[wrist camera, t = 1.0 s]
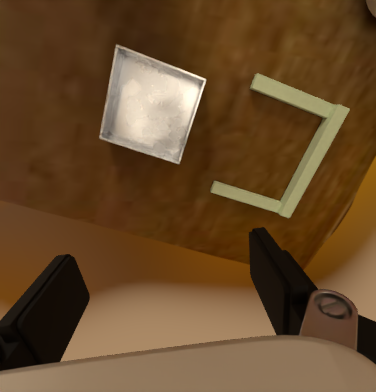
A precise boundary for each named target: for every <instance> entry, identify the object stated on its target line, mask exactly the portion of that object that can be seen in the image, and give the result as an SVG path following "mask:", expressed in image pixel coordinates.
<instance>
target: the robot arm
mask: <svg viewBox="0 0 376 392" xmlns="http://www.w3.org/2000/svg"><path fill="white" fill-rule="evenodd" d="M249 248H250V274H251V278H252V281H253V283H254V285H255V288H256V290H257V292H258V294H259V296H260V299H261V301H262V303H263V305H264V307H265V310H266V312H267V315H268V317H269V319H270V321H271V324H272V326H273V328H274V330H275V333H276V335H275V336H260V337H250V338H241V339H232V340H223V341H216V342H207V343H199V344H192V345H183V346H175V347H168V348H160V349H153V350H145V351H137V352H130V353H122V354H115V355H107V356H100V357H92V358H85V359H78V360H71V361H63V362H60V360H61V358H62V356H63V354H64V352H65V350H66V348H67V346H68V344H69V342H70V340H71V338H72V335H73V333H74V331H75V329H76V327H77V325H78V323H79V321H80V319H81V317H82V315H83V312H84V311H85V309H86V306H87V304H88V302H89V298H90V297H89V292H88V290H87V288H86V285H85V282H84V280H83V277H82V275H81V272H80V270H79V268H78V265H77V263H76V260H75V258H74V257H73V256H71V255H70V254H66V255H58V256H56V257H55V258H54V259H53V260H52V262H51V263H50V264H49V265H48V266H47V267H46V269H45V270H44V271H43V272H42V273H41V274H40V275H39V277H38V278H37V279H36V280H35V281H34V282H33V284H32V285H31V286H30V287H29V288H28V289H27V291H26V292H25V293H24V294H23V295H22V296H21V298H20V299H19V300H18V301H17V302H16V303H15V304H14V305H13V307H12V308H11V309H10V310H9V311H8V312H7V314H6V315H5V316H4V317H3V318H2V319H1V320H0V392H376V322H375V321H372V320H370V319H368V318H365V317H363V316H361V315H358V311H357V308H356V307H355V305H354V304H353V302H352V301H350V300H349V299H348V298H347V297H345V296H344V295H342V294H340V293H338V292H335V291H332V290H327V289H320V290H318V288H317V287H316V286H315V285H314V284H313V282H312V281H311V280H310V278H309V277H308V276H307V275H306V273H305V272H304V271H303V270H302V268H301V267H300V266H299V265H298V263H297V262H296V261H295V260H294V258H293V257H292V256H291V255H290V253H289V252H288V251H286V250H283V251H282V250H281V249H280V247H279V246H278V245H277V243H276V242H275V241H274V239H273V238H272V237H271V235H270V234H269V233H268V232H267V230H266V229H265V228H264V227H262V228H254V229H253V230H252V232H249Z"/></svg>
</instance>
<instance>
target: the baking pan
mask: <svg viewBox="0 0 376 392" xmlns="http://www.w3.org/2000/svg"><path fill="white" fill-rule="evenodd" d="M206 80H207V79H205V78H202V77H200V76H197V75H195V74H192V73H190V72H187V71H184V70H182V69H179V68H177V67H174V66H172V65H169V64H166V63H164V62H161V61H159V60H156V59H154V58H151V57H149V56H146V55H143V54H141V53H138V52H136V51H133V50H131V49H128V48H126V47H123V46H120V45H118V44H116V47H115V53H114V58H113V64H112V69H111V75H110V81H109V86H108V92H107V97H106V103H105V108H104V114H103V119H102V125H101V130H100V136H99V139H101V140H104V141H108V142H111V143H114V144H117V145H120V146H123V147H126V148H129V149H133V150H136V151H139V152H142V153H145V154H148V155H151V156H154V157H158V158H161V159H164V160H167V161H170V162H173V163H176V164H180V160H181V157H182V154H183V151H184V148H185V145H186V142H187V139H188V136H189V132H190V129H191V126H192V123H193V120H194V117H195V114H196V111H197V108H198V104H199V101H200V98H201V95H202V92H203V89H204V86H205V83H206Z"/></svg>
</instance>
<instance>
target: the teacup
mask: <svg viewBox="0 0 376 392" xmlns="http://www.w3.org/2000/svg"><path fill="white" fill-rule="evenodd" d="M366 3H367V6H368V9H369V10H370V12H371V13H372V15H373V16H375V17H376V0H366Z"/></svg>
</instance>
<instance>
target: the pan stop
mask: <svg viewBox="0 0 376 392" xmlns="http://www.w3.org/2000/svg"><path fill="white" fill-rule="evenodd" d="M250 89H251V90H254V91H256V92H259V93H261V94H264V95H267V96H269V97H272V98H274V99H277V100H279V101H282V102H284V103H287V104H289V105H292V106H294V107H297V108H299V109H302V110H304V111H307V112H309V113H312V114H315V115H317V116H320V117H322V118H323V120H322V122H321V124H320V125H319V127H318V129H317V131H316V133H315V135H314V137H313V139H312V141H311V143H310V145H309V147H308V149H307V150H306V152H305V154H304V156H303V158H302V160H301V162H300V164H299V166H298V168H297V170H296V172H295V174H294V175H293V177H292V179H291V181H290V183H289V185H288V187H287V189H286V191H285V193H284V195H283V197H282V199H281V200H280V201H278V200H275V199H272V198H268V197H265V196H262V195H259V194H256V193H253V192H249V191H246V190H243V189H240V188H237V187H234V186H230V185H227V184H224V183H221V182H218V181H215V180H214V182H213V184H212V187H211V189H210V192H211V193H214V194H218V195H221V196H224V197H228V198H231V199H234V200H237V201H241V202H244V203H247V204H250V205H254V206H257V207H260V208H263V209H267V210H270V211H273V212H277V213H278V214H279V215H281V216H284V217H287V218H290V217H291V215H292V213H293V211H294V210H295V208H296V206H297V204H298V202H299V200H300V199H301V197H302V195H303V193H304V191H305V190H306V188H307V186H308V184H309V182H310V181H311V179H312V177H313V175H314V173H315V172H316V170H317V168H318V166H319V164H320V163H321V161H322V159H323V157H324V155H325V154H326V152H327V150H328V148H329V146H330V144H331V143H332V141H333V139H334V137H335V135H336V134H337V132H338V130H339V128H340V126H341V125H342V123H343V121H344V119H345V117H346V116H347V114H348V112H349V110H350V109H349V108H346V107H344V106H341V105H333V104H331V103H329V102H326V101H324V100H321V99H319V98H316V97H314V96H312V95H309V94H307V93H304V92H302V91H299V90H297V89H294V88H292V87H290V86H287V85H285V84H282V83H280V82H277V81H275V80H273V79H270V78H268V77H265V76H263V75H260V74H258V73H257V74H255V76H254V79H253V81H252V84H251V87H250Z"/></svg>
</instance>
